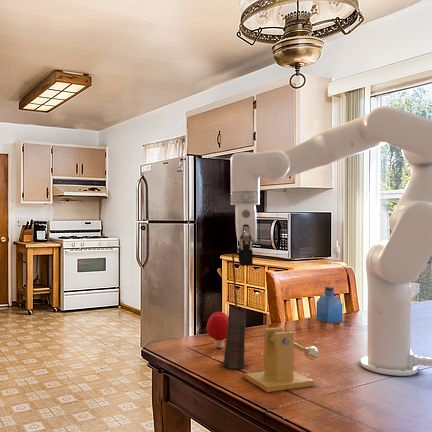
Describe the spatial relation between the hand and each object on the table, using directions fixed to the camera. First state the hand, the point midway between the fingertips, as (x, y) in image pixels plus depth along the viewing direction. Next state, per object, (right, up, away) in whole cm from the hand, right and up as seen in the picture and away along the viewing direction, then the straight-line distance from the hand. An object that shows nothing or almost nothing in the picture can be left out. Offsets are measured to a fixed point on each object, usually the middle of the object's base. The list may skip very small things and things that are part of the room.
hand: (245, 263), depth 126 cm
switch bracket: (+4, -25, -18) cm, 31 cm away
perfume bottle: (+40, -25, +45) cm, 65 cm away
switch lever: (+7, -19, -17) cm, 26 cm away
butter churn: (-4, -25, -8) cm, 27 cm away
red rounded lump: (-6, -25, +9) cm, 27 cm away
